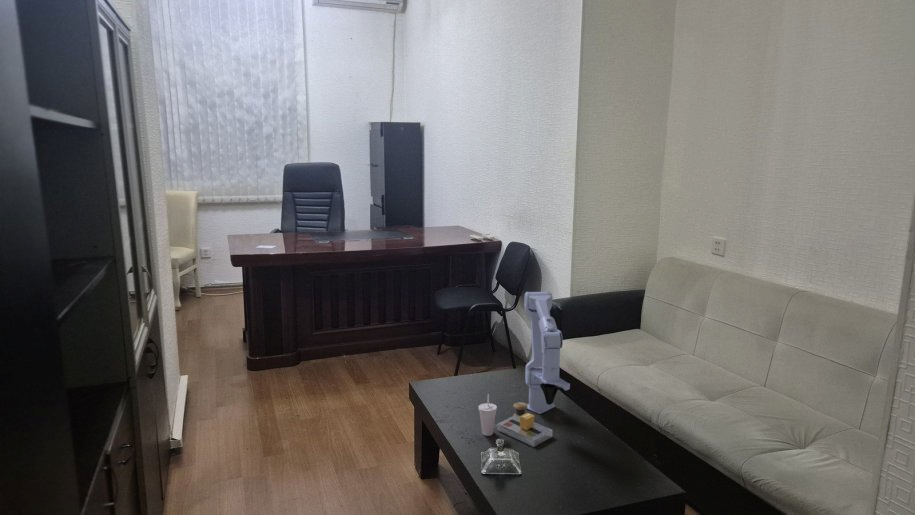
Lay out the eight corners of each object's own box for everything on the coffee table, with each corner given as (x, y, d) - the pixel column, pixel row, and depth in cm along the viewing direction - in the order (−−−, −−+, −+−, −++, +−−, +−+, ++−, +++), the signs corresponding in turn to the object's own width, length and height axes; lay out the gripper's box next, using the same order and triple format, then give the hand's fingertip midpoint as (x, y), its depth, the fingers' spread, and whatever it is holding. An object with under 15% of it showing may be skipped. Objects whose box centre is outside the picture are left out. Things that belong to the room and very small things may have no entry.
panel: (516, 420, 213) (516, 414, 213) (552, 436, 202) (552, 429, 201) (497, 430, 206) (497, 423, 206) (533, 447, 195) (534, 439, 194)
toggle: (527, 423, 205) (527, 412, 204) (534, 426, 203) (534, 415, 202) (519, 427, 202) (520, 415, 202) (526, 430, 200) (526, 418, 200)
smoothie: (498, 430, 206) (499, 392, 203) (493, 438, 200) (494, 400, 197) (481, 427, 208) (481, 390, 205) (475, 435, 202) (476, 397, 200)
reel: (519, 412, 220) (519, 401, 219) (530, 417, 216) (530, 405, 215) (510, 417, 216) (510, 405, 215) (521, 421, 213) (521, 409, 212)
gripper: (526, 363, 203) (525, 400, 206) (561, 375, 193) (560, 414, 195) (539, 358, 208) (538, 394, 210) (574, 369, 198) (572, 407, 200)
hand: (549, 403), depth 203 cm, fingers closed
